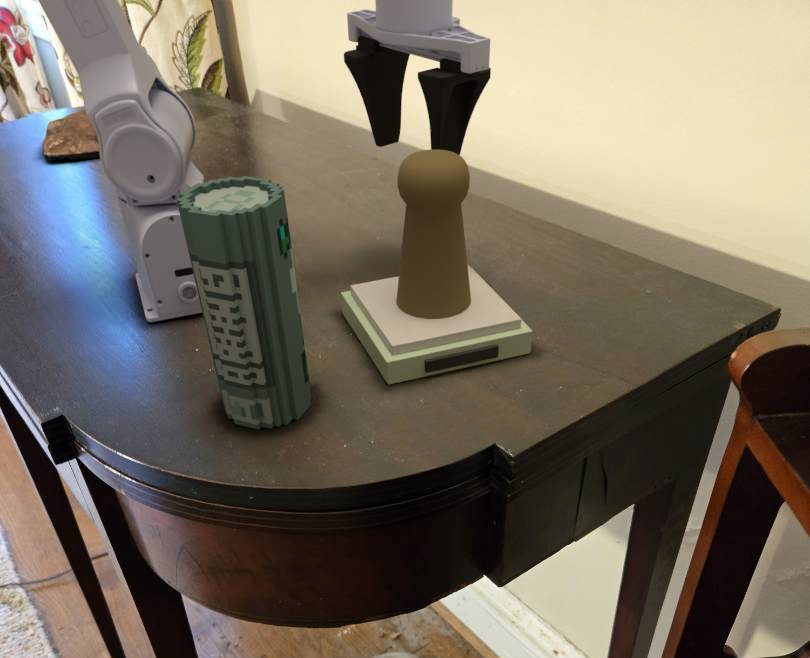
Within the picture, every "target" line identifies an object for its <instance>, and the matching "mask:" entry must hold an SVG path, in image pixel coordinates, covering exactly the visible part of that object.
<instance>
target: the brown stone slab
mask: <svg viewBox="0 0 810 658" xmlns="http://www.w3.org/2000/svg"><path fill="white" fill-rule="evenodd" d="M45 132H46V133H45V138H44V139H43V140H42V142H41V150H42V153H43V154H42V156H43V157H44V158H45V159H47V160H48V161H60V160H64V159H66V158H68V159H69V160H70V161H74V160H85V159H86V160H87V159H94V158H100V152H99V142H98V137H97V134H96V131H95V129H94V127H93V125H92V123H91V122H90V120H89V118H88V116H87V114H86V110H85V109H81V110H79V111H76V112H72V113H70V114H67V115H65V116H64V117H62V118H59V119H58V118H57V119H54V120H50V121H48V123H47V126H46V131H45Z"/></svg>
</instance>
